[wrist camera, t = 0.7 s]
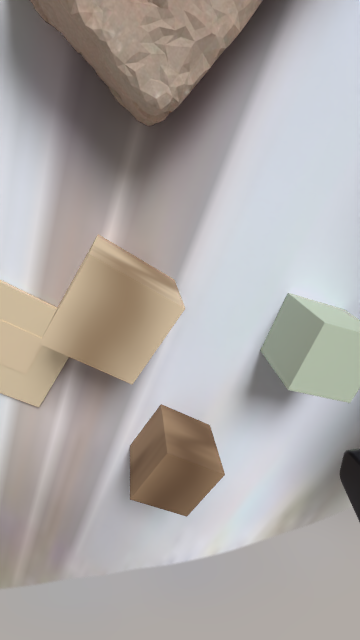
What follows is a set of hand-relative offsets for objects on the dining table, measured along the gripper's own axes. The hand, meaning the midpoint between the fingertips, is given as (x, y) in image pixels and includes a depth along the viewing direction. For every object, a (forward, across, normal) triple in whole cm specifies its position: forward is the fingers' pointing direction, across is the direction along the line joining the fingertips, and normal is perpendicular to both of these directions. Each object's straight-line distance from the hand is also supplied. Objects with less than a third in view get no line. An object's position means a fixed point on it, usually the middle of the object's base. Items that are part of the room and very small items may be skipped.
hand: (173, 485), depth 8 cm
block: (+13, -10, +3) cm, 17 cm away
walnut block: (+13, 0, +11) cm, 17 cm away
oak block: (+13, +2, 0) cm, 13 cm away
